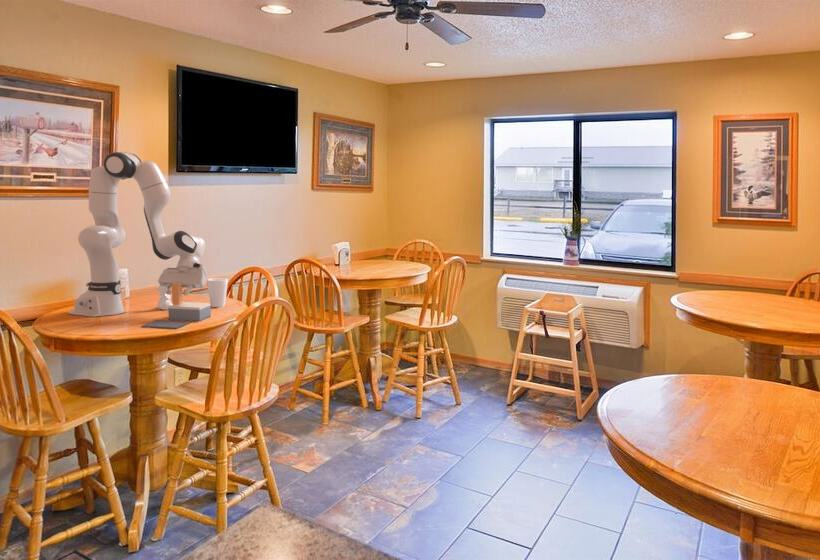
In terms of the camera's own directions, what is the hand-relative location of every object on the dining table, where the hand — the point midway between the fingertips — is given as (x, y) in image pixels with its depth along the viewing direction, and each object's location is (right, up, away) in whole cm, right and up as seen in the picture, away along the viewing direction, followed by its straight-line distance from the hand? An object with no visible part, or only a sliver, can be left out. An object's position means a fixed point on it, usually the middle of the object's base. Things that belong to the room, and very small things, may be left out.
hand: (176, 294), depth 256 cm
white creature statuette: (-13, -7, +20) cm, 25 cm away
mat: (0, -12, -12) cm, 17 cm away
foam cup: (+9, -7, +28) cm, 30 cm away
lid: (+5, -6, +1) cm, 8 cm away
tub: (+5, -10, +2) cm, 12 cm away
